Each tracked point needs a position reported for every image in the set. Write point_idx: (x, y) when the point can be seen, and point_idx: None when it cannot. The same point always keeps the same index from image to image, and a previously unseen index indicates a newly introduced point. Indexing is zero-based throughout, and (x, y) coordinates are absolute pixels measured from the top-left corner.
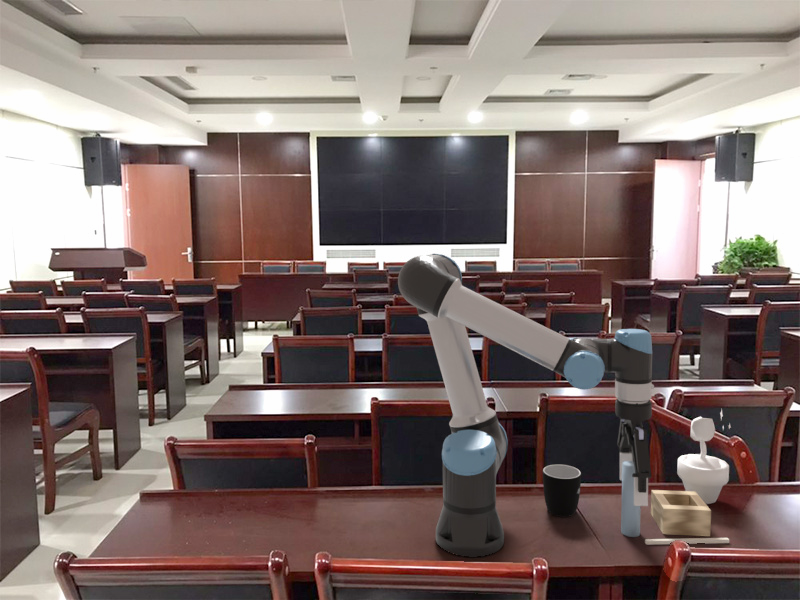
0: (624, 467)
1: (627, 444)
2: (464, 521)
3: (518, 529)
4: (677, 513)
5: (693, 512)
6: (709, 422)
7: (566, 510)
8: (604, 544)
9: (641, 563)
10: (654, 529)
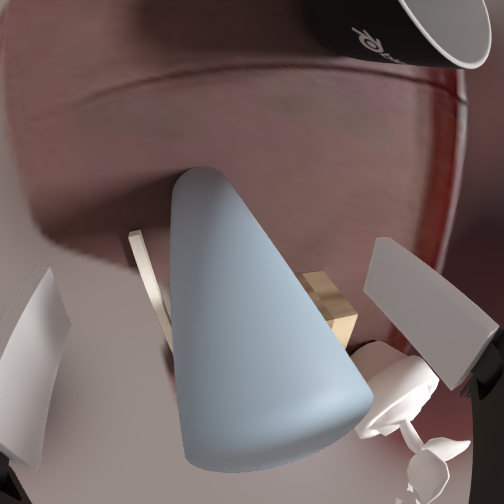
0: (238, 388)
1: (496, 435)
2: None
3: None
4: None
5: None
6: (425, 492)
7: (305, 5)
8: (108, 102)
9: (28, 205)
10: None
